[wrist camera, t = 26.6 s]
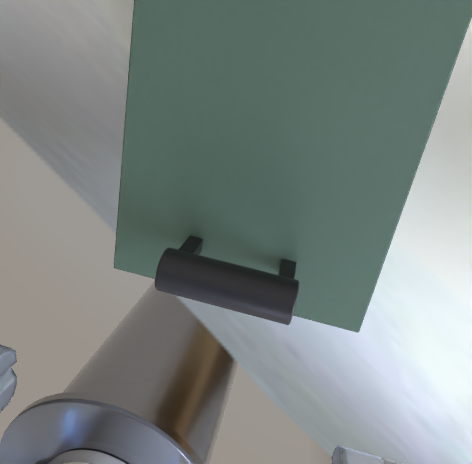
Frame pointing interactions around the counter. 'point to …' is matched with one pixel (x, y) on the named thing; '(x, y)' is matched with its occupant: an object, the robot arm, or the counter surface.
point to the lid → (277, 146)
